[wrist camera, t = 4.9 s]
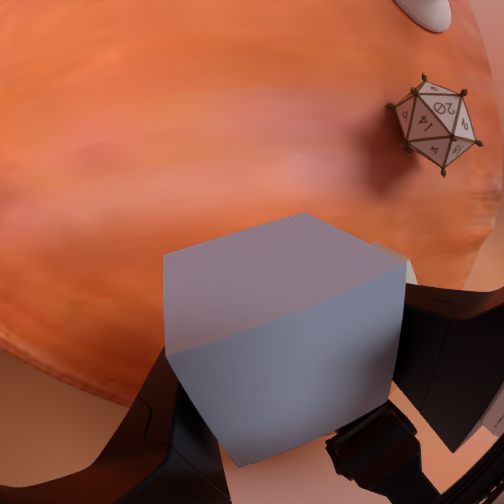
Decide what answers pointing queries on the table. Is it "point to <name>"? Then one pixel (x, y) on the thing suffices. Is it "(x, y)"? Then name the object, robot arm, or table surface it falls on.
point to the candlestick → (428, 13)
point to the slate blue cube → (282, 332)
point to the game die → (435, 123)
